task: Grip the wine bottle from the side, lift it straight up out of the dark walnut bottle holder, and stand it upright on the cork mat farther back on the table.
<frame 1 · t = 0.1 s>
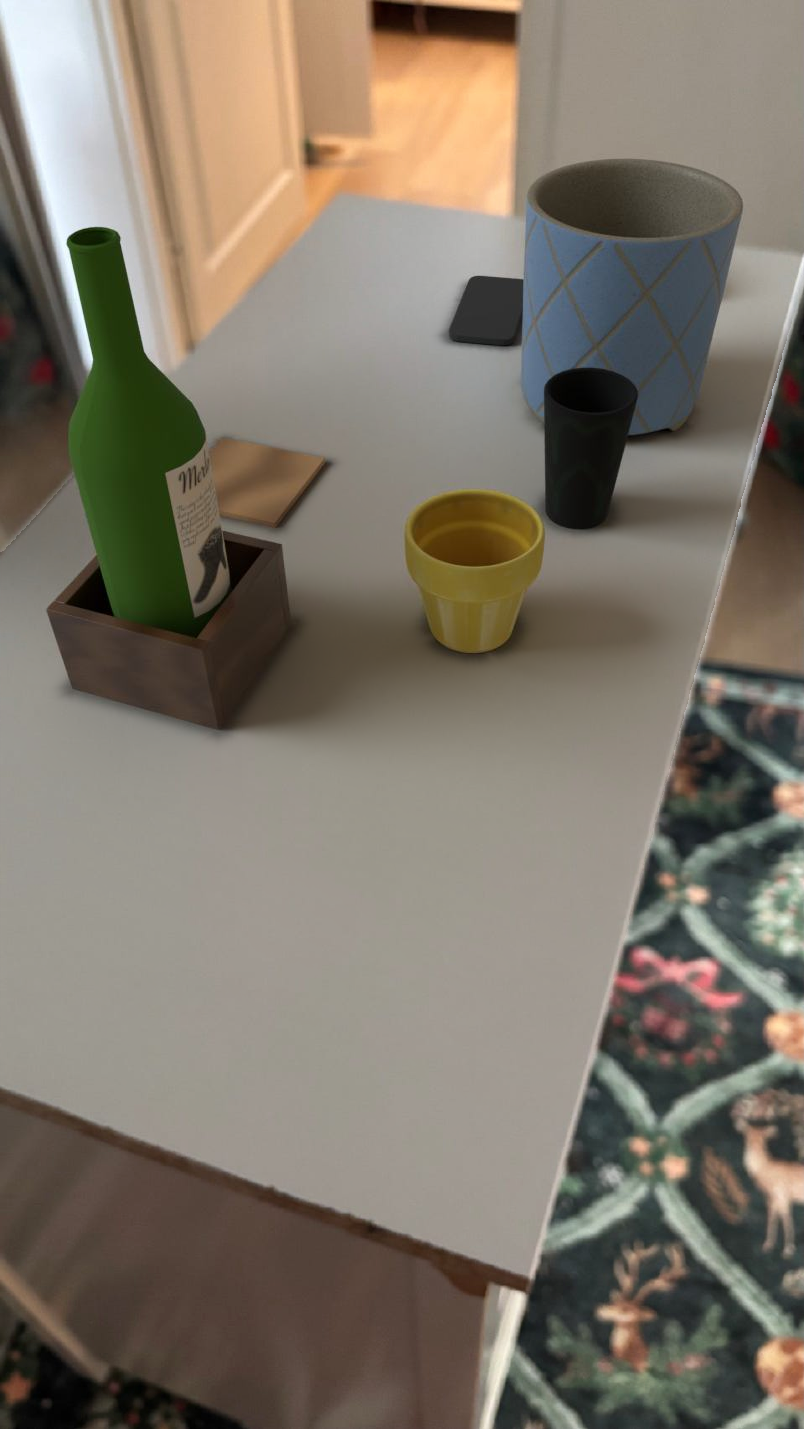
phone: (490, 314, 124), on the table
flower pot: (470, 627, 87), on the table
holder: (184, 655, 85), on the table
planter: (606, 400, 111), on the table
cup: (576, 513, 97), on the table
cork mat: (248, 483, 101), on the table
wine bottle: (185, 657, 85), resting in holder
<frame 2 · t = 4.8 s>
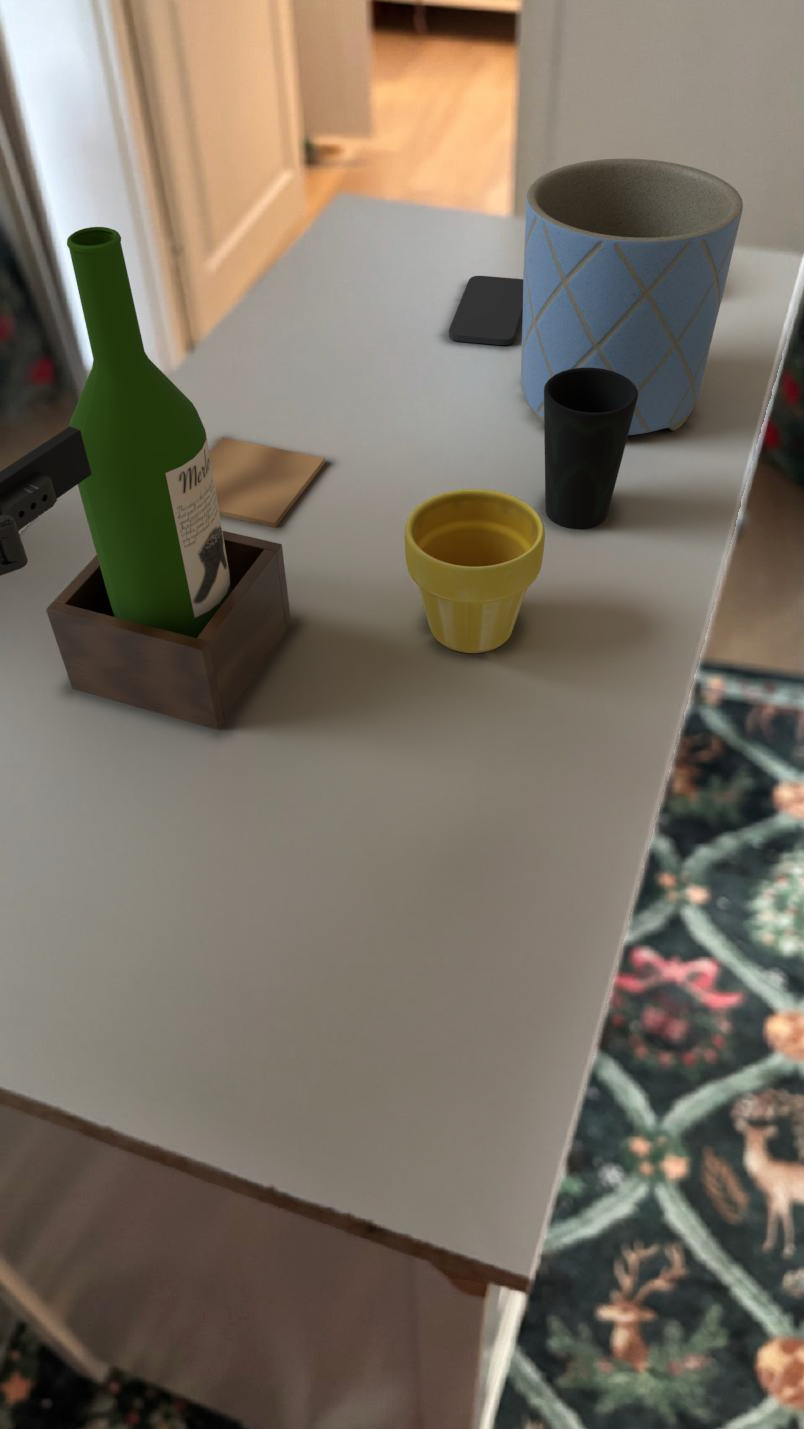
nothing on the table moved.
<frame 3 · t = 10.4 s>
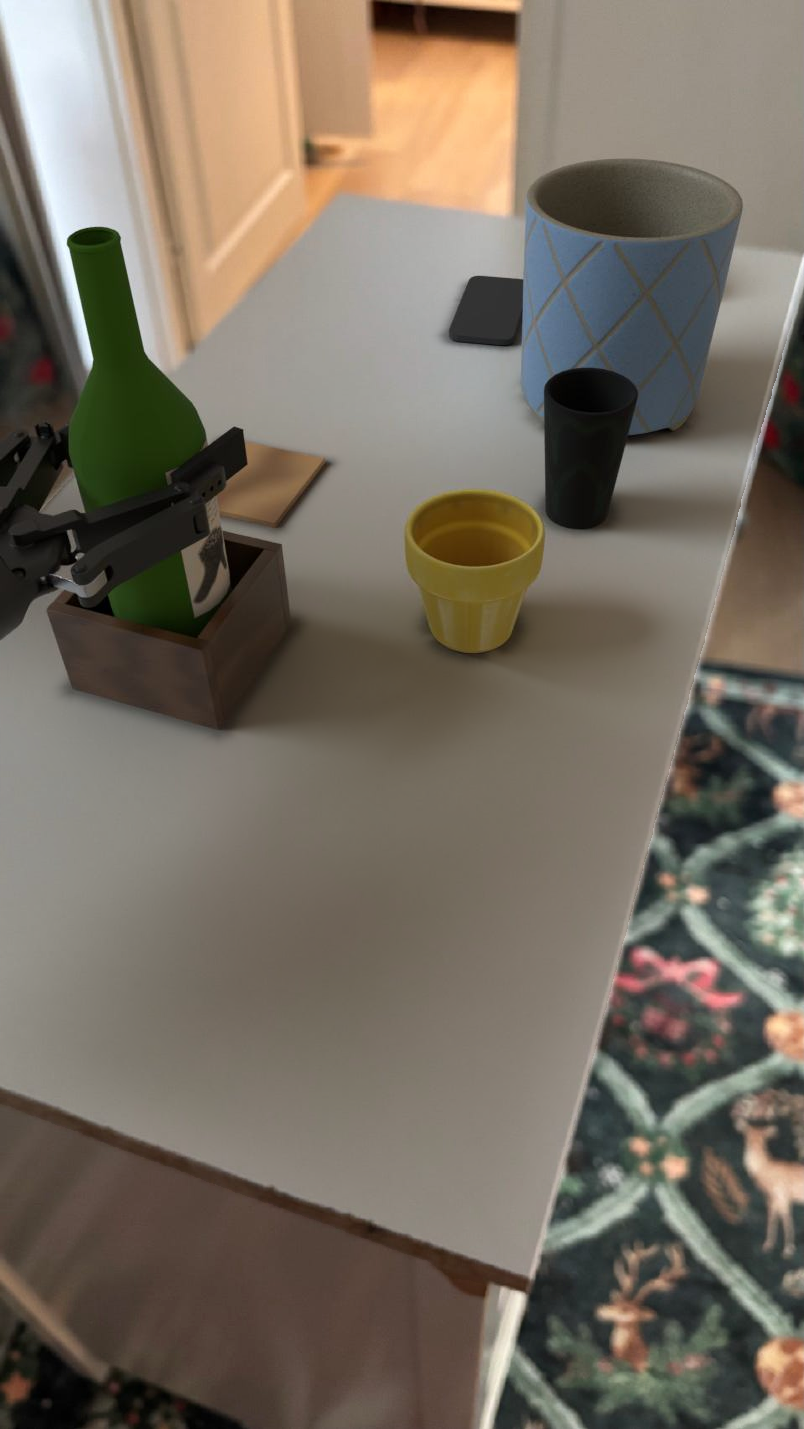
hand: (185, 426, 74), 18 cm above the table, tool horizontal, fingers closed on wine bottle, 9 cm apart
wine bottle: (185, 657, 85), resting in holder, touching gripper
everything else where it was.
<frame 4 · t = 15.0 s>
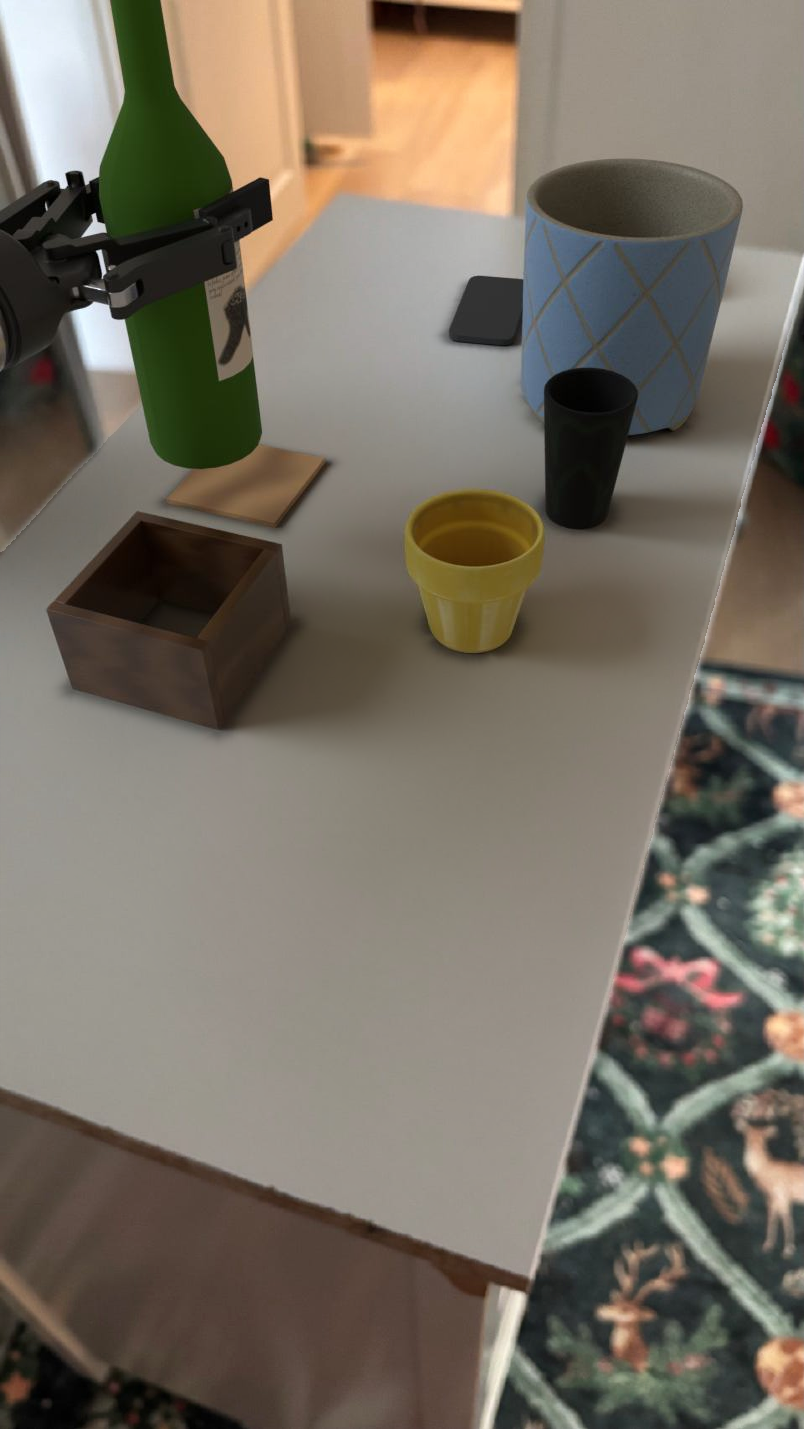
hand: (212, 185, 76), 29 cm above the table, tool horizontal, fingers closed on wine bottle, 9 cm apart
wine bottle: (207, 441, 86), point 11 cm above the table, touching gripper
everything else where it was.
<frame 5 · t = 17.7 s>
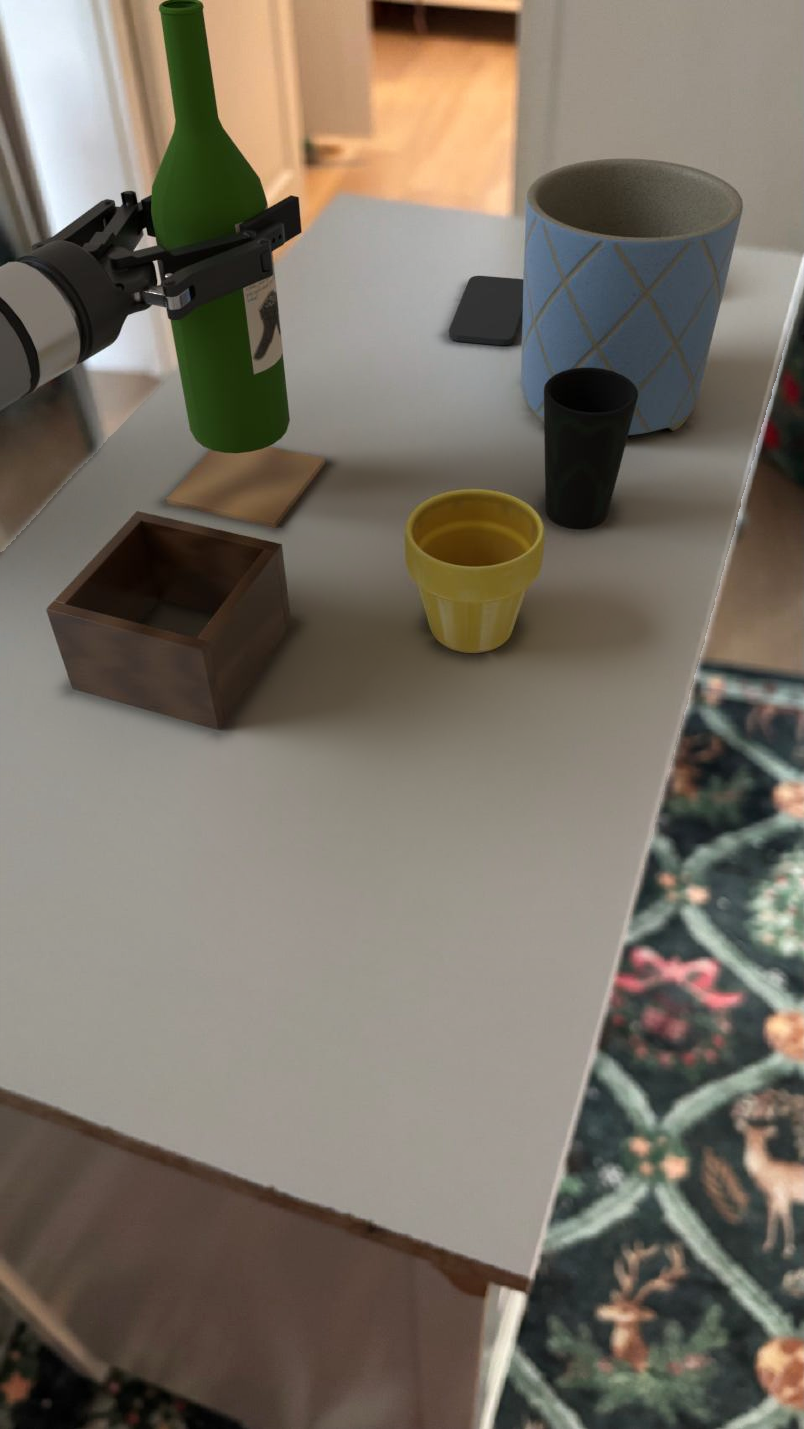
hand: (247, 202, 86), 24 cm above the table, tool horizontal, fingers closed on wine bottle, 9 cm apart
wine bottle: (241, 429, 97), point 6 cm above the table, touching gripper
everything else where it was.
when the fingers open (19 cm above the table, at t = 19.7 s): wine bottle stays where it is, resting on cork mat.
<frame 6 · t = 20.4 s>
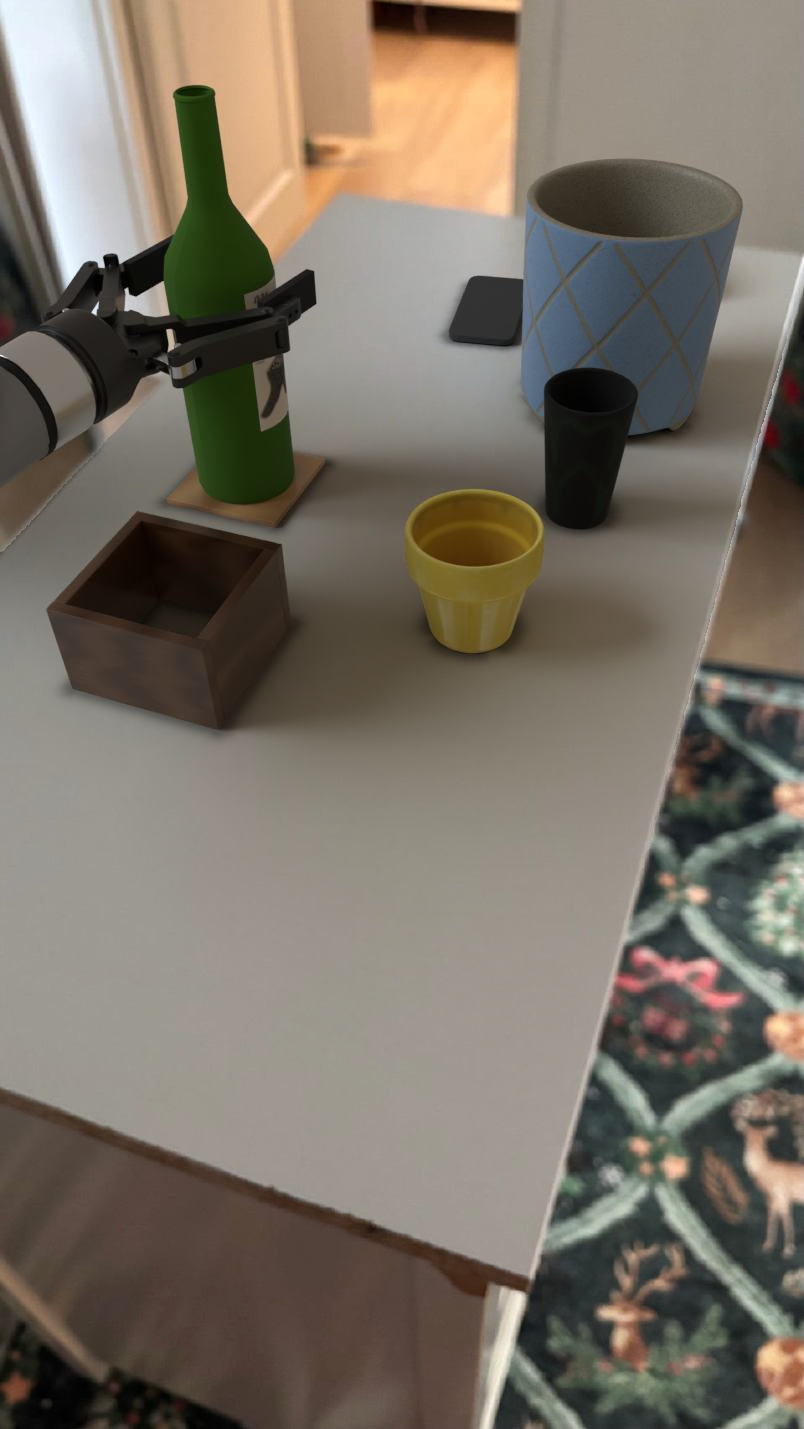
hand: (244, 267, 89), 19 cm above the table, tool horizontal, fingers open, 13 cm apart
wine bottle: (247, 479, 101), resting on cork mat
everything else where it was.
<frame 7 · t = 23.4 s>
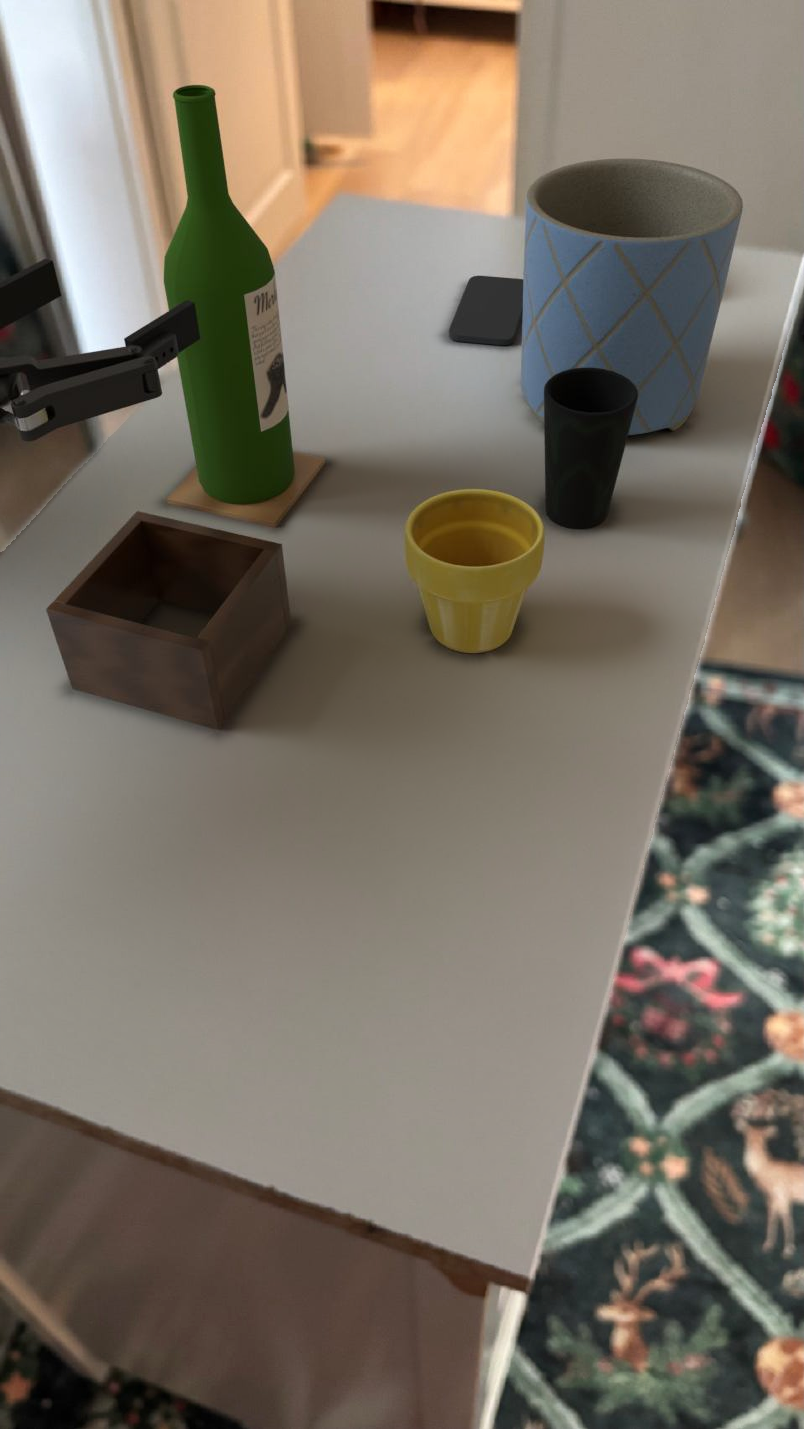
hand: (121, 297, 79), 22 cm above the table, tool horizontal, fingers open, 13 cm apart
nothing on the table moved.
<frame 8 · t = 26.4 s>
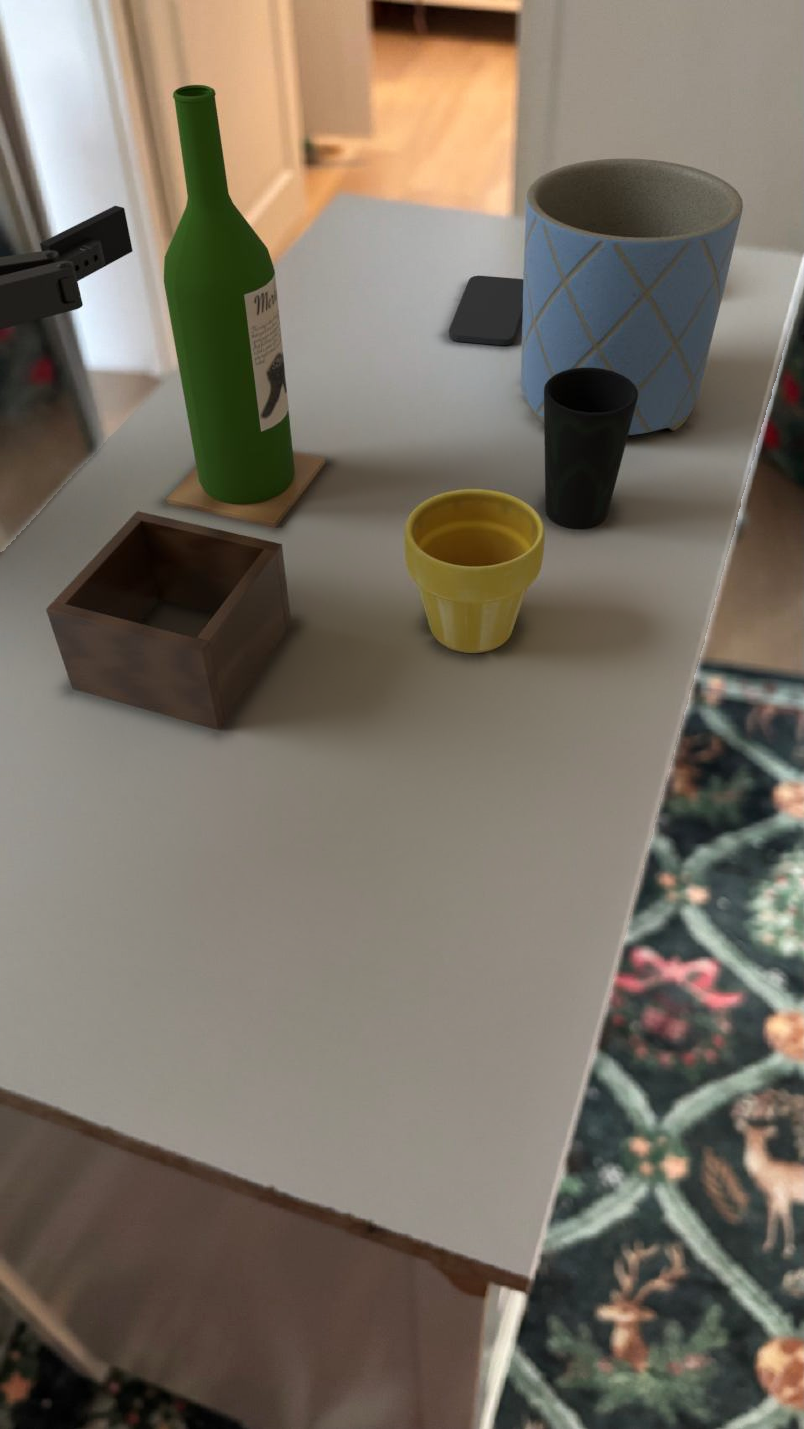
hand: (46, 207, 71), 30 cm above the table, tool horizontal, fingers open, 13 cm apart
nothing on the table moved.
at the end: wine bottle inside the target area on the cork mat (0.0 cm from its centre), point 0.4 cm above the cork mat's base; wine bottle tilted 0°; the gripper is holding nothing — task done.
